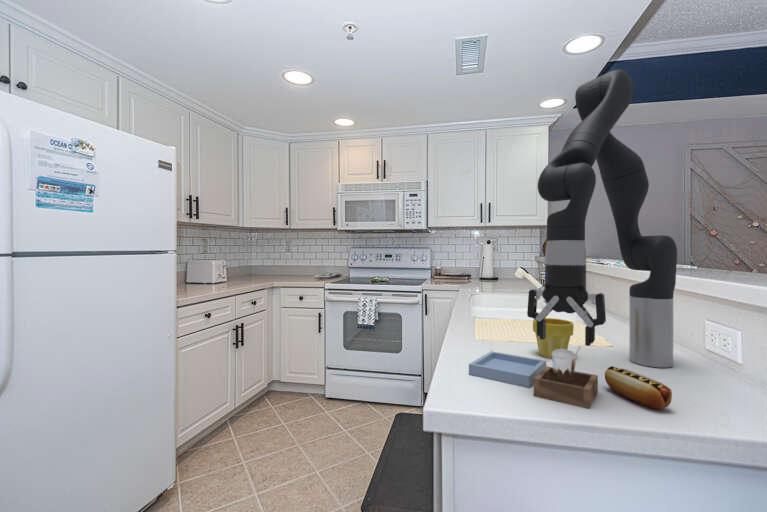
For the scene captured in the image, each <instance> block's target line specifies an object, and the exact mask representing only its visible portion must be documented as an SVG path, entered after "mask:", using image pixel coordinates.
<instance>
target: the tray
mask: <svg viewBox="0 0 767 512" xmlns="http://www.w3.org/2000/svg"><path fill="white" fill-rule="evenodd" d="M546 366H547V360H546V359H539V358H534V357H529V356H528V357H527V356H522V355H516V354H510V353H504V352H497V351H489V352H487V353H485V354H484V355H482V356H480V357H478V358H477V359H475V360H473V361H471V362H470V363H468V375H470V376H475V377H478V378H483V379H488V380H492V381H498V382H502V383H507V384H511V385H515V386H519V387H520V386H521V387H524V388H531V387H533V386H534V378H535V377H536V376H537V375H538V374H539V373H540V372H541V371H542V370H543V369H544V368H545V367H546Z"/></svg>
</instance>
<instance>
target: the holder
mask: <svg viewBox="0 0 767 512" xmlns="http://www.w3.org/2000/svg"><path fill="white" fill-rule="evenodd" d="M598 378H599V375H597V374H592V373H586V372H580V371H574V382H573V385H571V384H566V383H561V382H556V381H554V371H553V366H547V365H546V367H545V368H544V369H543V370H542V371H541V372H540V373H539V374H538V375H537V376H536V377H535V378H534V384H533V396H534V397H537V398H538V397H539V398H543V399H547V400H551V401H555V402H558V403H563V404H567V405H568V404H569V405H571V406H577V407H581V408H585V409H588V410H589V409H591V407H592V404H593V402H594V401H595V398H596V397H597V394H598V392H599V389H598V387H599V386H598V385H599V384H598V383H599V381H598V380H599V379H598Z"/></svg>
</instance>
